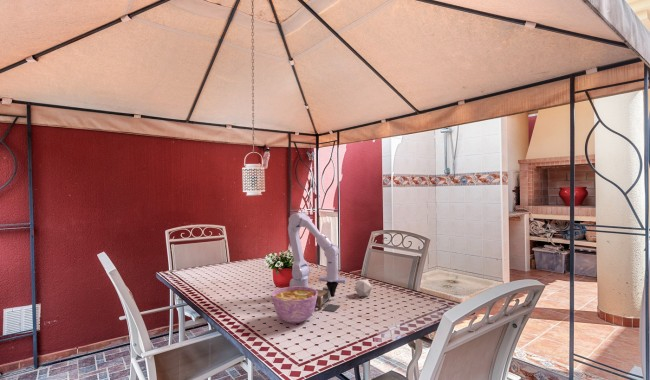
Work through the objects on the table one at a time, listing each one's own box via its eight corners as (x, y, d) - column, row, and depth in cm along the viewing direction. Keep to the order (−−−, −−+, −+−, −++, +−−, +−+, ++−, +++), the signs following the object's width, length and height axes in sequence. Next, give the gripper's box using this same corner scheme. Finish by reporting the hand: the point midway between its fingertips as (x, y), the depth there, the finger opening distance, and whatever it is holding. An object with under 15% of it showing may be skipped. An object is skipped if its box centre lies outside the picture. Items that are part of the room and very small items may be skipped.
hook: (300, 305, 156) (300, 293, 156) (312, 296, 169) (312, 285, 169) (319, 308, 152) (318, 295, 152) (330, 298, 166) (330, 286, 166)
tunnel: (308, 308, 152) (308, 294, 152) (316, 302, 160) (315, 289, 160) (320, 310, 150) (320, 295, 150) (327, 304, 157) (327, 290, 157)
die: (367, 300, 163) (376, 283, 167) (351, 291, 165) (361, 274, 168) (365, 301, 171) (373, 284, 175) (350, 292, 173) (359, 276, 176)
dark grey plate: (322, 310, 149) (322, 309, 149) (328, 304, 157) (328, 304, 157) (334, 312, 147) (334, 311, 147) (340, 306, 155) (340, 305, 155)
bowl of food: (276, 311, 149) (276, 286, 149) (319, 311, 149) (319, 286, 149) (267, 329, 129) (267, 301, 129) (317, 329, 129) (316, 300, 129)
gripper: (316, 270, 163) (316, 297, 163) (343, 272, 157) (343, 300, 157) (321, 267, 169) (321, 293, 169) (347, 269, 164) (348, 296, 164)
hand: (332, 296), depth 164 cm, fingers closed
